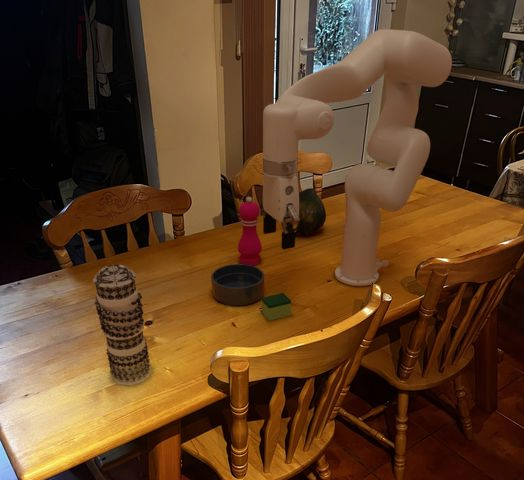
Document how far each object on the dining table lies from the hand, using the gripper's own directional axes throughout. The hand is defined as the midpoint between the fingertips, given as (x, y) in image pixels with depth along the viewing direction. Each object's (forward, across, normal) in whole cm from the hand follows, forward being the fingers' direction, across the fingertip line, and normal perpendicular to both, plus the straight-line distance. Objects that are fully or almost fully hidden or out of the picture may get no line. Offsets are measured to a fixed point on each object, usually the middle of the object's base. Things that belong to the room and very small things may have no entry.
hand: (278, 240), depth 125 cm
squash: (+20, +45, -32) cm, 59 cm away
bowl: (+20, +14, +5) cm, 25 cm away
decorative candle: (+20, -9, +40) cm, 46 cm away
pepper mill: (+20, +31, -6) cm, 38 cm away
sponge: (+20, 0, 0) cm, 20 cm away
